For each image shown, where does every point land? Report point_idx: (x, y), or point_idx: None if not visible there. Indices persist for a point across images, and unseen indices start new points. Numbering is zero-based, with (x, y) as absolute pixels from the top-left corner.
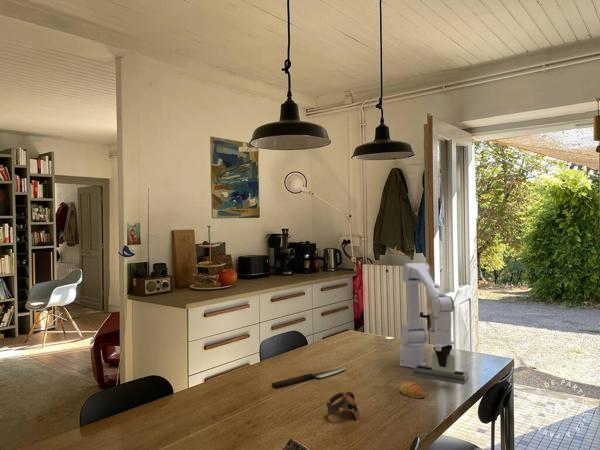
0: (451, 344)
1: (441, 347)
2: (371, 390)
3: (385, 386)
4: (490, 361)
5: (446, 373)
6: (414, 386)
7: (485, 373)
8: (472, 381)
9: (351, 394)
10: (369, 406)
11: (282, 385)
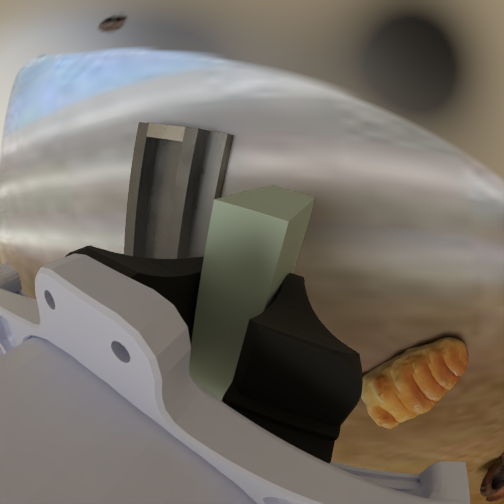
0: (189, 360)
1: (443, 498)
2: (375, 461)
3: (337, 439)
4: (27, 98)
5: (179, 227)
6: (432, 393)
7: (94, 77)
8: (182, 100)
9: (492, 488)
10: (481, 446)
11: None
